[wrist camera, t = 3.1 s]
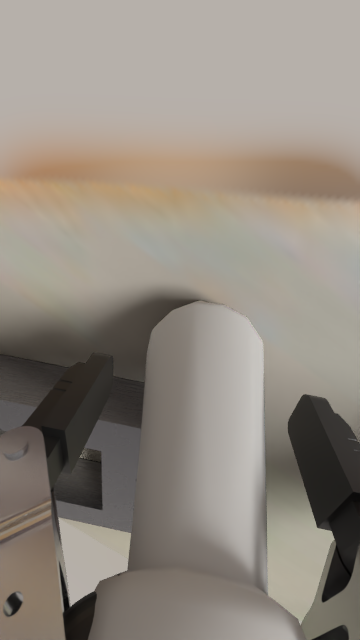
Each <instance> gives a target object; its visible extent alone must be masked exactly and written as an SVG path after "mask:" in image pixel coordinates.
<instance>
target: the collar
mask: <svg viewBox="0 0 360 640" xmlns="http://www.w3.org/2000/svg"><path fill="white" fill-rule="evenodd" d="M67 369H69V368H67V367H62V366H57V365H51V364H46V363H41V362H36V361H31V360H26V359H21V358H16V357H11V356H6V355H1V354H0V436H1V435H2V434H4V433H5V432H7V431H9V430H11V429H14V428H17V427H21V426H22V425H23V424H24V423H25V422H26V421H27V419H28V418H29V417H30V416H31V414H32V413H33V412H34V411H35V409H36V408H37V407H38V406H39V404H40V403H41V402H42V401H43V399H44V398H45V397H46V396H47V394H48V393H49V392H50V390H52V389H53V387H54V385H55V384H56V383H57V382H58V381H59V379H60V378H61V377H62V375H63V374H64V373H65V372H66V370H67ZM144 386H145V383H142V382H137V381H132V380H127V379H122V378H117V377H113V386H112V390H111V393H110V396H109V398H108V400H107V402H106V404H105V406H104V408H103V410H102V412H101V414H100V417H99V419H98V421H97V423H96V425H95V427H94V429H93V431H92V433H91V435H90V437H89V439H88V441H87V443H86V445H85V447H84V448H88V449H93V450H98V451H101V461H102V463H100V462H95V461H90V460H86V459H81V458H79V459H78V461H77V463H76V465H75V467H74V469H73V471H72V473H71V474H68V473H63V472H61V473H60V475H59V477H58V479H57V481H56V483H55V485H54V489H55V497H56V505H57V512H58V517H60V518H65V519H70V520H74V521H79V522H83V523H88V524H92V525H97V526H102V527H106V528H111V529H115V530H120V531H124V532H129V533H131V531H132V521H133V511H134V501H135V491H136V482H137V472H138V462H139V452H140V439H141V425H142V412H143V399H144Z"/></svg>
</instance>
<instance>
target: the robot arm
mask: <svg viewBox="0 0 360 640" xmlns="http://www.w3.org/2000/svg"><path fill="white" fill-rule="evenodd" d="M112 386H113V356H110V355H105V354H100V353H93V354H92V356H91V357H90V358H89V360H88V361H87V362H86V364H85V363H80V362H78V363H77V364H75V365H74V366H72V367H70V368H69V369H67V370H66V372H65V373H64V374H63V375H62V377H61V378H60V379H59V381H58V382H57V383H56V384H55V385H54V387H53V389H52V390H50V392H49V393H48V394H47V396H46V397H45V398H44V399H43V401H42V402H41V403H40V404H39V406H38V407H37V408H36V409H35V411H34V412H33V413H32V414H31V416H30V417H29V418H28V419H27V421H26V422H25V423H24V424H23V425H22V426H21V427H17V428H14V429H11V430H9V431H7V432H5V433H4V434H2V435H1V436H0V640H88V637H89V634H90V630H91V626H92V623H93V618H94V613H95V603H96V599H97V593H96V592H92V593H90V594H88V595H87V596H85V597H83V598H82V599H80V600H79V601H77V602H76V603H75V604H74V605H72V606H71V605H70V598H69V590H68V583H67V575H66V568H65V562H64V556H63V550H62V543H61V535H60V528H59V520H58V512H57V505H56V497H55V489H54V485H55V483H56V481H57V479H58V477H59V475H60V473H61V472H63V473H68V474H71V473H72V471H73V469H74V467H75V465H76V463H77V461H78V459H79V457H80V455H81V453H82V451H83V449H84V447H85V445H86V443H87V441H88V439H89V437H90V435H91V433H92V431H93V429H94V427H95V425H96V423H97V421H98V419H99V417H100V414H101V412H102V410H103V408H104V406H105V404H106V402H107V400H108V398H109V396H110V393H111V390H112ZM288 433H289V437H290V440H291V443H292V447H293V450H294V453H295V456H296V460H297V463H298V466H299V469H300V473H301V476H302V479H303V482H304V486H305V489H306V492H307V495H308V499H309V502H310V505H311V508H312V512H313V515H314V518H315V521H316V525H317V528H320V529H325V530H330V531H332V533H333V536H334V539H335V540H334V541H333V542H332V543H331V545H330V549H329V552H328V555H327V559H326V562H325V566H324V569H323V572H322V576H321V579H320V582H319V586H318V589H317V592H316V596H315V599H314V602H313V604H312V606H311V608H310V610H309V611H308V613H307V614H306V616H305V617H304V619H303V621H302V623H301V628H302V630H303V633H304V635H305V638H306V640H360V444H359V442H357V438H356V437H355V435H354V433H353V431H352V430H351V428H350V426H349V425H348V424H347V423H346V422H345V421H344V420H343V419H342V418H341V417H340V416H339V415H338V414H335V413H334V412H333V410H332V408H331V406H330V404H329V402H328V401H327V400H326V399H325V398H322V397H317V396H312V395H306V394H305V395H303V396H302V397H301V399H300V401H299V402H298V404H297V406H296V408H295V409H294V411H293V413H292V415H291V416H290V418H289V422H288ZM119 575H120V574H118V576H119Z"/></svg>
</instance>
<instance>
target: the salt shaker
mask: <svg viewBox="0 0 360 640" xmlns="http://www.w3.org/2000/svg"><path fill="white" fill-rule="evenodd" d="M119 574H120V575H119V576H118V574H117V575H114V576H112V577H109V578H107V579H104V580H102V581H100V582H99V584H98V585H97V587H96V589H95V591H94V592H96V593H97V599H96V603H95V613H94V618H93V623H92V626H91V630H90V634H89V637H88V640H306V638H305V635H304V633H303V630H302V628H301V626H300V623H299V621H298V619H297V618H296V617H295V616H293V615H292V614H291V613H290V612H288V611H287V610H286V609H285V608H283V607H282V606H281V605H280V604H278V603H277V602H276V601H275V600H273V599H272V598H271V597H269V596H268V570H267V512H266V455H265V398H264V354H263V341H262V340H261V338H260V336H259V335H258V333H257V332H256V330H255V329H254V327H253V326H252V324H251V322H250V321H249V319H248V318H247V316H245V315H243V314H241V313H239V312H237V311H235V310H233V309H232V308H230V307H228V306H226V305H224V304H216V303H208V302H205V301H202V300H200V301H196V302H193V303H191V304H188V305H185V306H182V307H180V308H177V309H174V310H172V311H171V312H170V313H169V314H168V315H167V316H166V317H165V318H164V319H163V320H161V321H160V322H159V323H158V324H157V325H156V326H155V327H154V329H153V330H152V332H151V336H150V341H149V345H148V350H147V360H146V373H145V386H144V399H143V412H142V425H141V439H140V452H139V462H138V472H137V482H136V491H135V501H134V511H133V521H132V531H131V541H130V551H129V561H128V570H127V571H125V572H122V573H119Z"/></svg>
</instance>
